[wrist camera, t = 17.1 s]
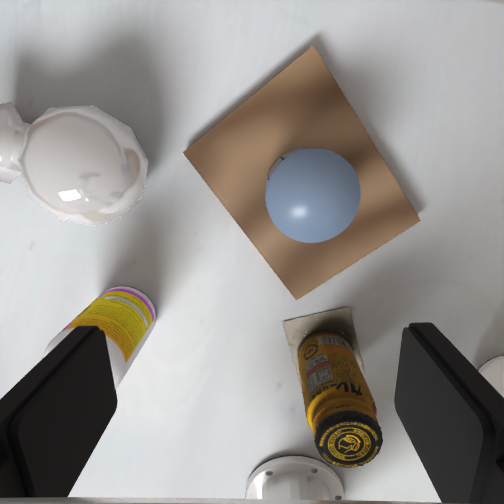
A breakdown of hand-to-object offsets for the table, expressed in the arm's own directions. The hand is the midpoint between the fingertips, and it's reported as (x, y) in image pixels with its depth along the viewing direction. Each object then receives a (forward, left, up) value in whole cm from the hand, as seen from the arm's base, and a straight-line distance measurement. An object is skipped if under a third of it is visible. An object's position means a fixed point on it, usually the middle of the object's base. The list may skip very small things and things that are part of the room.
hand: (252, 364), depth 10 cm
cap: (0, -5, -22) cm, 23 cm away
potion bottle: (+14, +10, -24) cm, 30 cm away
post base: (0, -5, -23) cm, 24 cm away
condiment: (-16, +3, -24) cm, 29 cm away
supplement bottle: (0, +18, -24) cm, 30 cm away
